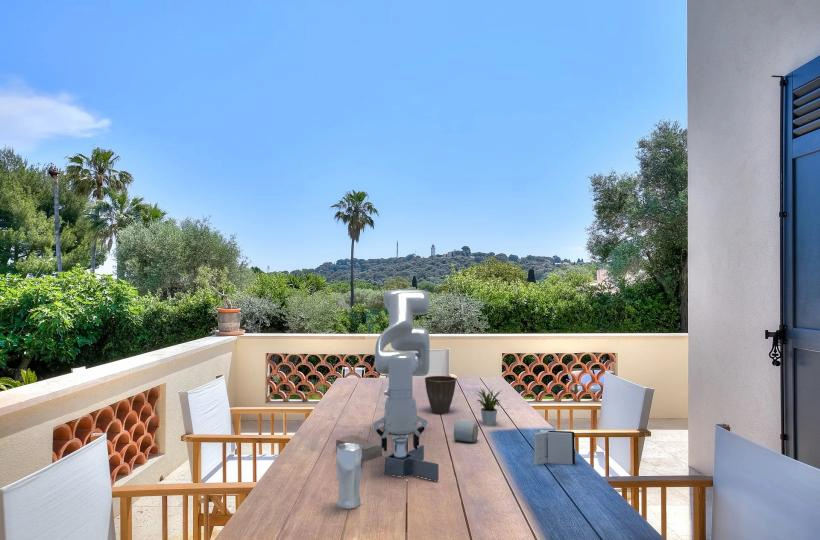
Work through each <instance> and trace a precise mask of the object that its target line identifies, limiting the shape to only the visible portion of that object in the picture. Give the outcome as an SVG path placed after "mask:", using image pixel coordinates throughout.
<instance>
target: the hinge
mask: <svg viewBox="0 0 820 540" xmlns="http://www.w3.org/2000/svg"><path fill="white" fill-rule="evenodd" d="M575 440H576V436H575V431H572V430H559V429H558V430H555V429H547V430H546V429H540V430H539V432H536V433H535V432H534V434H533V441H534V442H533V443H534V445H533V447H534V450H533V454H534V465H535V466H538V465H543V464H551V465H552V464H553V465H554V464H556V465H568V466H569V465H576V452H575V451H576V441H575Z"/></svg>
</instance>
